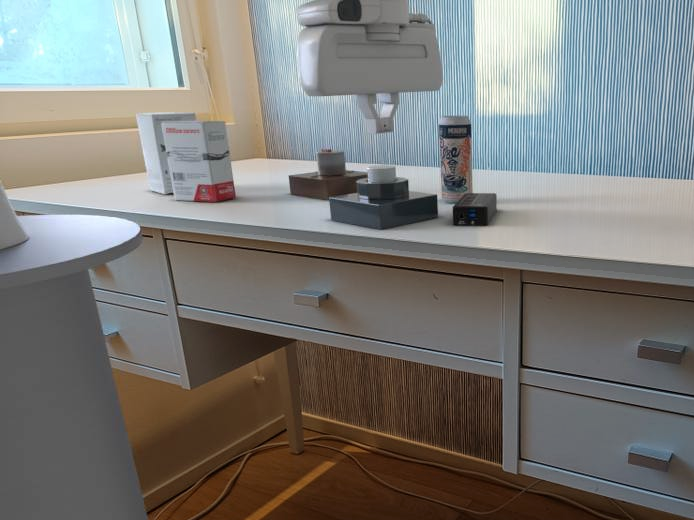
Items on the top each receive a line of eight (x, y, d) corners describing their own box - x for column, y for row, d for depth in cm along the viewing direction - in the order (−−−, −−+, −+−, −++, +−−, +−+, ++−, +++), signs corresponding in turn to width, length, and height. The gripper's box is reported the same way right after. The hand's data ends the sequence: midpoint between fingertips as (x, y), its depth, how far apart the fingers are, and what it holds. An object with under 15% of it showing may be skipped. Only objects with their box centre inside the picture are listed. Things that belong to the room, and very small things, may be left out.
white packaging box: (164, 195, 113) (149, 113, 108) (149, 190, 118) (134, 112, 113) (208, 190, 118) (196, 112, 113) (192, 186, 123) (179, 111, 118)
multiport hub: (497, 209, 95) (496, 193, 94) (487, 225, 85) (487, 206, 84) (465, 209, 96) (465, 192, 95) (452, 225, 86) (451, 206, 85)
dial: (351, 173, 111) (349, 149, 109) (328, 176, 108) (325, 151, 107) (336, 171, 114) (334, 147, 112) (313, 174, 111) (310, 149, 110)
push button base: (380, 229, 84) (377, 188, 82) (330, 220, 90) (327, 181, 88) (438, 217, 91) (437, 178, 89) (388, 209, 97) (385, 173, 95)
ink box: (237, 197, 109) (226, 119, 105) (215, 202, 105) (202, 121, 100) (196, 195, 112) (183, 119, 108) (173, 200, 108) (158, 121, 103)
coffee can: (437, 203, 101) (434, 117, 96) (445, 198, 105) (442, 115, 101) (469, 203, 100) (467, 116, 96) (475, 198, 104) (474, 115, 100)
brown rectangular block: (327, 200, 106) (325, 179, 104) (290, 194, 112) (288, 174, 111) (377, 191, 112) (376, 172, 111) (339, 186, 119) (338, 168, 117)
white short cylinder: (380, 186, 86) (379, 169, 86) (362, 183, 89) (361, 167, 88) (402, 182, 89) (401, 166, 88) (383, 180, 91) (382, 164, 90)
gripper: (416, 16, 90) (422, 126, 95) (283, 8, 76) (299, 138, 81) (451, 12, 86) (455, 127, 92) (317, 3, 72) (331, 140, 78)
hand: (380, 133), depth 86 cm, fingers closed
